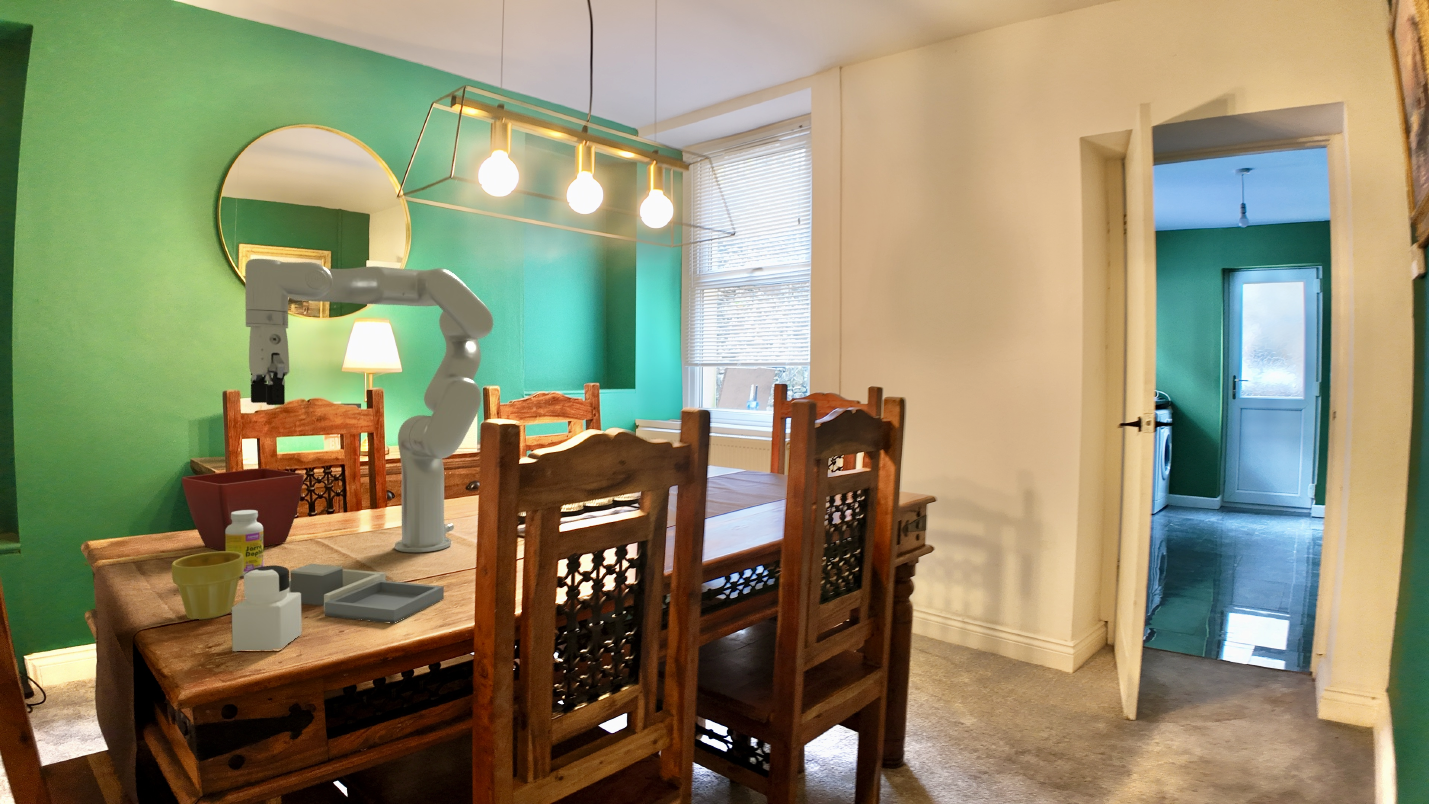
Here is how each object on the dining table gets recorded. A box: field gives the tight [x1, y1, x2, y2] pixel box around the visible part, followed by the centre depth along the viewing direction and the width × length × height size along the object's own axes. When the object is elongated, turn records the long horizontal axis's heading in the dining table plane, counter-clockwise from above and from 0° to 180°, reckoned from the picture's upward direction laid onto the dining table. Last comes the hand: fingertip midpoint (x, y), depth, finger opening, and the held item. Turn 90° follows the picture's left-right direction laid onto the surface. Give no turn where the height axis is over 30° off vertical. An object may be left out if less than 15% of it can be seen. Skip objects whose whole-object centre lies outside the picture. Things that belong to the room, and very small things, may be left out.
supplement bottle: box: [225, 510, 264, 578], centre depth 154 cm, size 7×7×13 cm
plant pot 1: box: [181, 467, 305, 551], centre depth 177 cm, size 19×19×17 cm
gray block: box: [289, 563, 344, 607], centre depth 137 cm, size 5×7×6 cm
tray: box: [324, 580, 445, 624], centre depth 134 cm, size 14×14×2 cm
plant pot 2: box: [171, 550, 244, 621], centre depth 129 cm, size 10×10×10 cm
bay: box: [288, 568, 387, 612], centre depth 140 cm, size 15×14×3 cm
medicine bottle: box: [231, 564, 302, 652], centre depth 116 cm, size 7×7×12 cm
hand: (267, 403), depth 152 cm, fingers open, 9 cm apart
